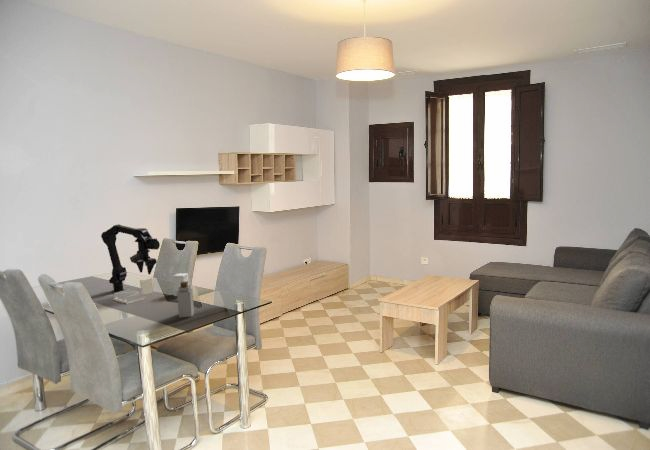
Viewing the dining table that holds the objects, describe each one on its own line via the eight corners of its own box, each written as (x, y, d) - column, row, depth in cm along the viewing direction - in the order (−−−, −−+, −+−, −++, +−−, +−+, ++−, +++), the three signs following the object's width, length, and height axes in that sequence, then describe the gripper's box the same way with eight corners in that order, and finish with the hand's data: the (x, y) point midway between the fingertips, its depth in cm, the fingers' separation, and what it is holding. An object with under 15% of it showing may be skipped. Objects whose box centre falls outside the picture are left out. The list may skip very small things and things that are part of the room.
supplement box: (184, 296, 301) (183, 276, 300) (173, 296, 303) (171, 275, 301) (190, 292, 309) (188, 273, 307) (179, 292, 310) (177, 272, 308)
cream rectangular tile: (141, 294, 309) (139, 280, 308) (151, 291, 315) (149, 277, 314) (143, 294, 308) (142, 280, 307) (153, 291, 313) (152, 278, 312)
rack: (113, 299, 299) (112, 293, 298) (131, 294, 308) (131, 288, 307) (126, 303, 289) (126, 297, 289) (145, 298, 299) (144, 292, 298)
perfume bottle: (181, 313, 269) (178, 281, 266) (194, 312, 269) (191, 280, 267) (178, 317, 262) (176, 284, 260) (191, 316, 263) (189, 283, 260)
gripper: (123, 249, 307) (125, 274, 309) (139, 252, 295) (141, 278, 297) (139, 246, 315) (141, 270, 317) (156, 249, 304) (158, 274, 306)
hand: (145, 273), depth 309 cm, fingers open, 9 cm apart
